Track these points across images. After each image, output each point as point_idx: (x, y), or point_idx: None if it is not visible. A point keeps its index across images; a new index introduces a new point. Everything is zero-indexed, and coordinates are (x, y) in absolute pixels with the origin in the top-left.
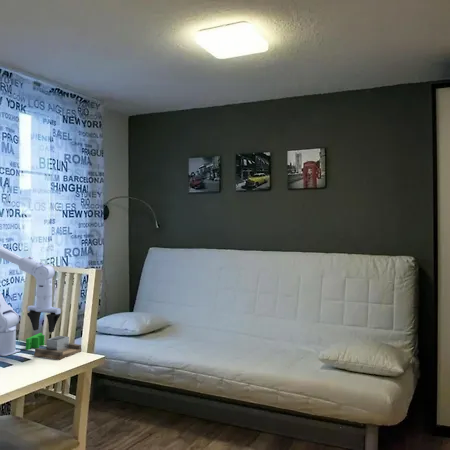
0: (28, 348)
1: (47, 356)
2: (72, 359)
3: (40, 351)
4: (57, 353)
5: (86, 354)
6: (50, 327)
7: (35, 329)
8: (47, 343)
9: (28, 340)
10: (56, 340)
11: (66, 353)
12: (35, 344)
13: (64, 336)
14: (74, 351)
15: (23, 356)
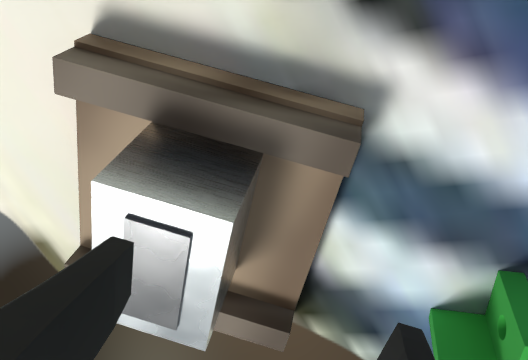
0: (501, 279)
1: (213, 72)
2: (10, 64)
3: (292, 115)
4: (91, 62)
5: (17, 196)
6: (52, 277)
7: (392, 344)
8: (233, 195)
9: (522, 335)
10: (107, 194)
11: (87, 140)
12: (460, 334)
13: (140, 328)
14: (81, 206)
15: (468, 81)
